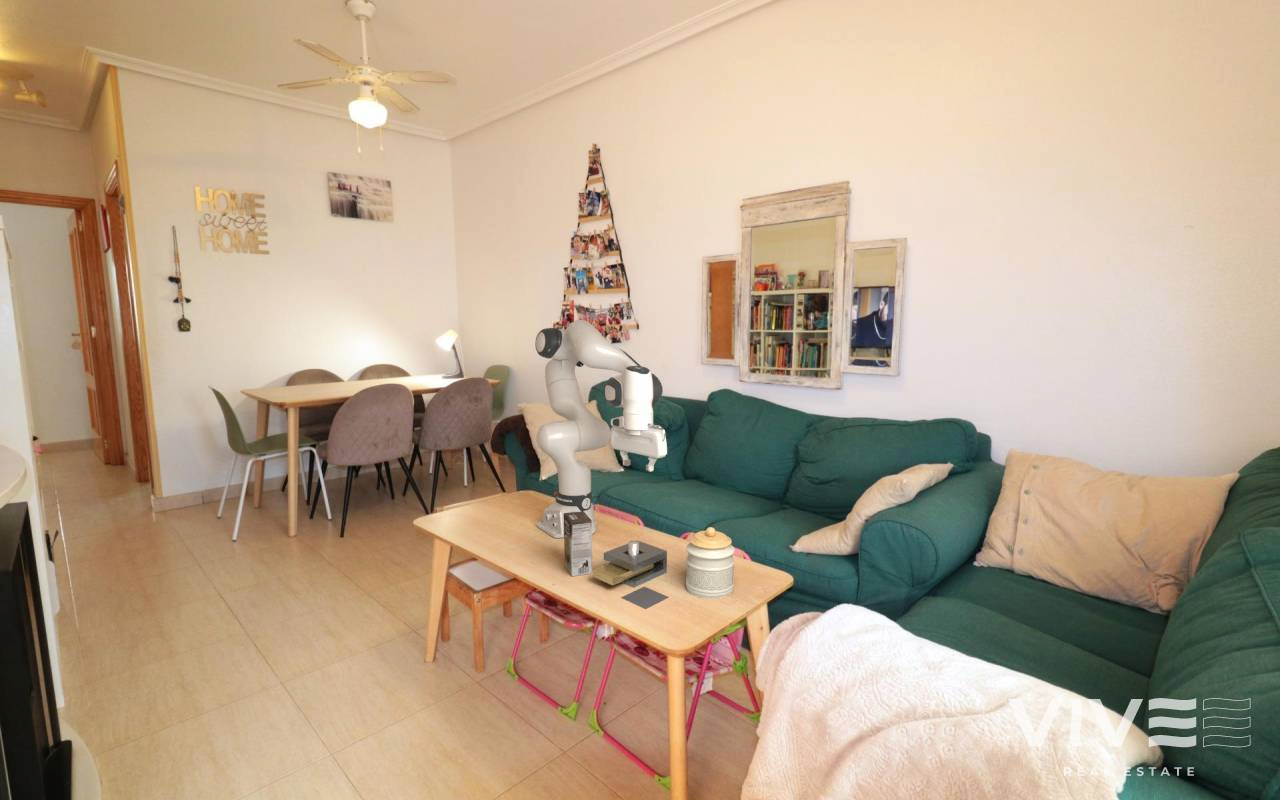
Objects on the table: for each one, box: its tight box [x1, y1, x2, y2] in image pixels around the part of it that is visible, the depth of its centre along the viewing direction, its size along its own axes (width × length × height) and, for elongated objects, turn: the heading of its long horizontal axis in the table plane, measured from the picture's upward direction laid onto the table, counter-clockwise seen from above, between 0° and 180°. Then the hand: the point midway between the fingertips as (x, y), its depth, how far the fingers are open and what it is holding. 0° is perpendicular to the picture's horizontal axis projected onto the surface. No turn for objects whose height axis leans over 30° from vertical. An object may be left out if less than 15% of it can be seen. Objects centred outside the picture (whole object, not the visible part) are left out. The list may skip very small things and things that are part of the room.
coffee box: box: [563, 511, 593, 577], centre depth 171 cm, size 9×6×16 cm
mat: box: [620, 586, 670, 610], centre depth 154 cm, size 9×9×1 cm
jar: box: [685, 526, 736, 600], centre depth 158 cm, size 13×13×18 cm
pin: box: [627, 540, 639, 557], centre depth 167 cm, size 3×3×10 cm
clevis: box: [592, 539, 668, 589], centre depth 166 cm, size 12×20×7 cm, turn 136°
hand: (638, 468), depth 174 cm, fingers open, 8 cm apart
